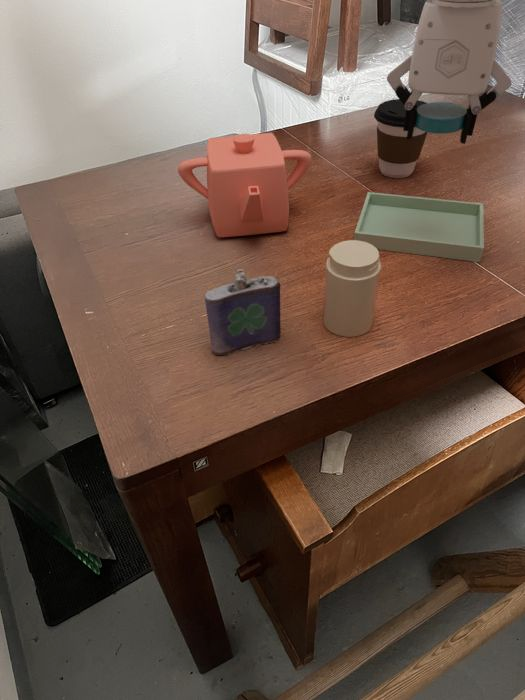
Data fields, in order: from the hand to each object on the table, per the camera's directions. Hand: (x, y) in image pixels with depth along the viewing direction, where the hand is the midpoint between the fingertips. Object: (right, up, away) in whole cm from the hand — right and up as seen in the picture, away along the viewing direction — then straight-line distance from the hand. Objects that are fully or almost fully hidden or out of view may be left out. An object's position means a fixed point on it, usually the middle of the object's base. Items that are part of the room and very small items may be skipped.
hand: (436, 137), depth 73 cm
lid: (0, +2, -2) cm, 3 cm away
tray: (+1, -11, +10) cm, 15 cm away
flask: (-27, -30, -8) cm, 41 cm away
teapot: (-27, -9, +14) cm, 32 cm away
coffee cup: (+1, +4, +27) cm, 27 cm away
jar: (-14, -27, -5) cm, 31 cm away
